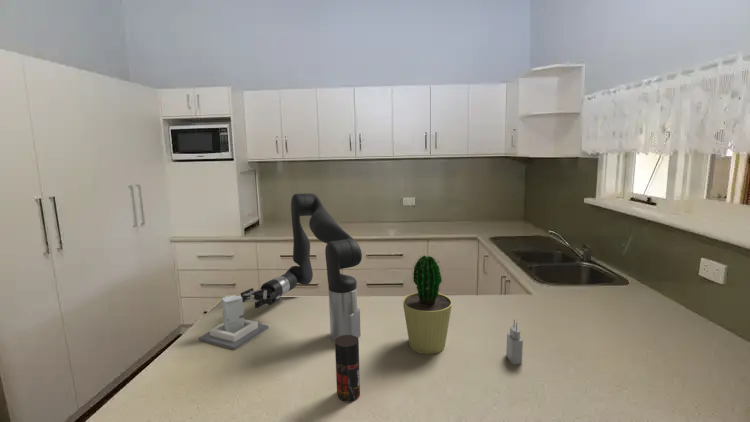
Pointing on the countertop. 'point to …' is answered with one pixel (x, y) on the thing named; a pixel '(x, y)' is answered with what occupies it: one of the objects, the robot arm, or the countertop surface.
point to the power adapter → (514, 345)
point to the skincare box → (233, 313)
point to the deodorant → (347, 368)
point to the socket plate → (233, 335)
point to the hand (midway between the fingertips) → (246, 304)
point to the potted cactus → (427, 309)
